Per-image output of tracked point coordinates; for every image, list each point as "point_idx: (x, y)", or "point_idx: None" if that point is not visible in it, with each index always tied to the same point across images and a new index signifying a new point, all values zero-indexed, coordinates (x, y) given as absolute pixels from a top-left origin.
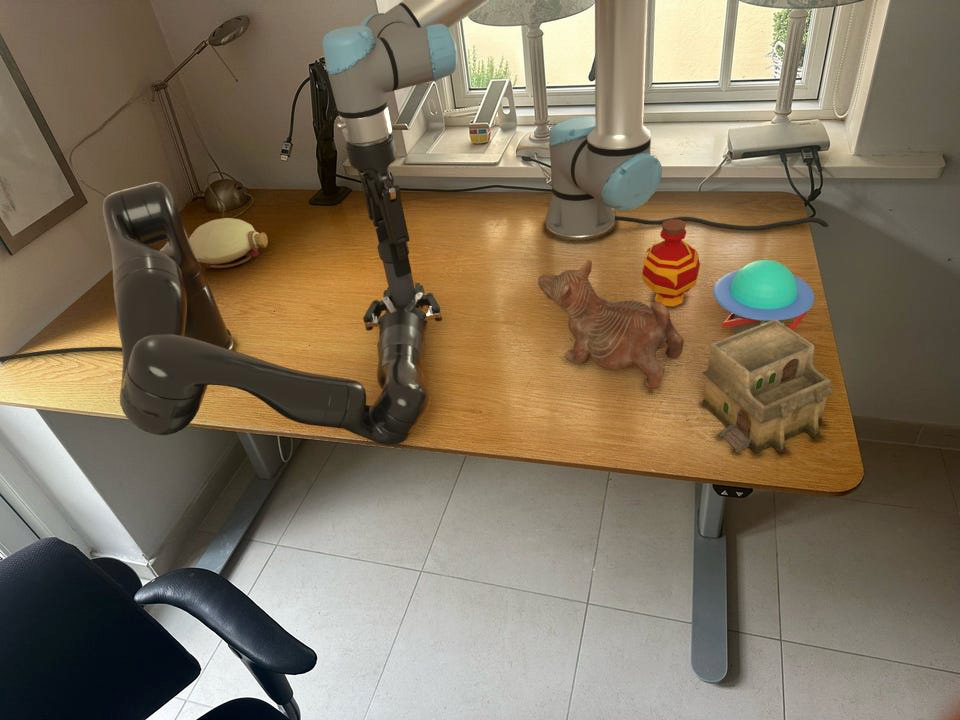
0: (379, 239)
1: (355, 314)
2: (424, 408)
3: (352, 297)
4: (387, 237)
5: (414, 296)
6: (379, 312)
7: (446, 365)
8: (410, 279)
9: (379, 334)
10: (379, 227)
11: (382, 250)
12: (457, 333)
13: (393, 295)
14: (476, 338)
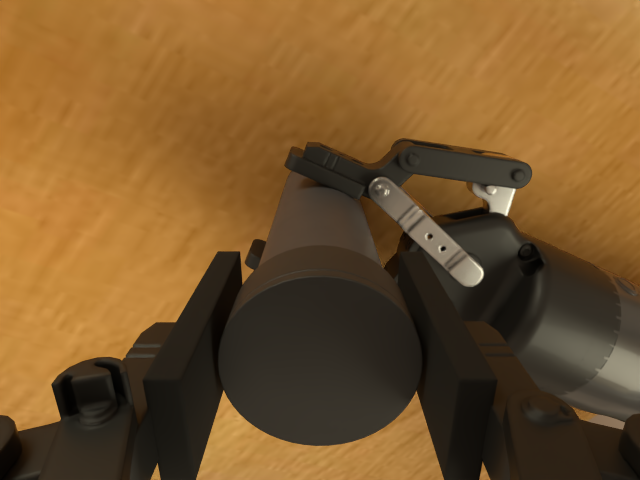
0: (213, 416)
1: (169, 293)
2: None
3: (74, 274)
4: (210, 365)
5: (356, 200)
6: None
7: (548, 180)
8: (365, 228)
9: None
10: (157, 455)
11: (351, 433)
12: (442, 85)
13: None
14: (507, 45)
